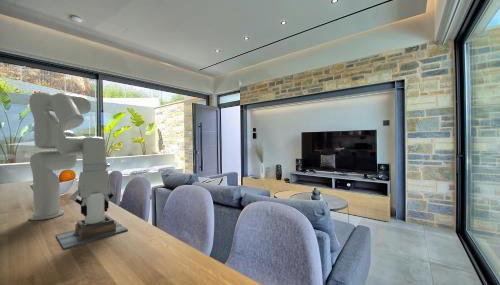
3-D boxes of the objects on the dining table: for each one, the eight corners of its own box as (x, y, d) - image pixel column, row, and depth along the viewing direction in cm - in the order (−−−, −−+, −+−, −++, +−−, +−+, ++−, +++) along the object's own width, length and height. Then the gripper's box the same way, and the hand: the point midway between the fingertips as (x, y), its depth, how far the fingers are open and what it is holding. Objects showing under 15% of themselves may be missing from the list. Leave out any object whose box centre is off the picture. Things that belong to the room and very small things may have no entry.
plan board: (56, 236, 84) (55, 223, 84) (114, 221, 99) (114, 210, 99) (63, 249, 74) (63, 235, 74) (127, 230, 89) (127, 218, 89)
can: (94, 225, 84) (93, 194, 83) (80, 224, 85) (80, 193, 85) (108, 219, 90) (108, 190, 90) (95, 218, 91) (95, 189, 91)
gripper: (115, 165, 96) (116, 206, 96) (64, 169, 83) (65, 216, 83) (121, 166, 91) (122, 209, 91) (68, 171, 78) (69, 221, 78)
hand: (95, 212), depth 87 cm, fingers closed on can, 6 cm apart
